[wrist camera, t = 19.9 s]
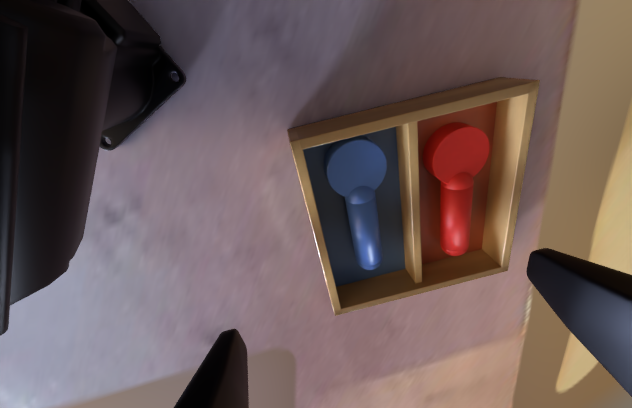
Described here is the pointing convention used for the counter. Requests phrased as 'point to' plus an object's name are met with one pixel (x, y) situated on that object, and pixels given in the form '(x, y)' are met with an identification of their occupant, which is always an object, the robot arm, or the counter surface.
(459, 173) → the red spoon
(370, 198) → the blue spoon
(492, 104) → the cutlery tray
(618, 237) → the counter surface
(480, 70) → the counter surface
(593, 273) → the robot arm
